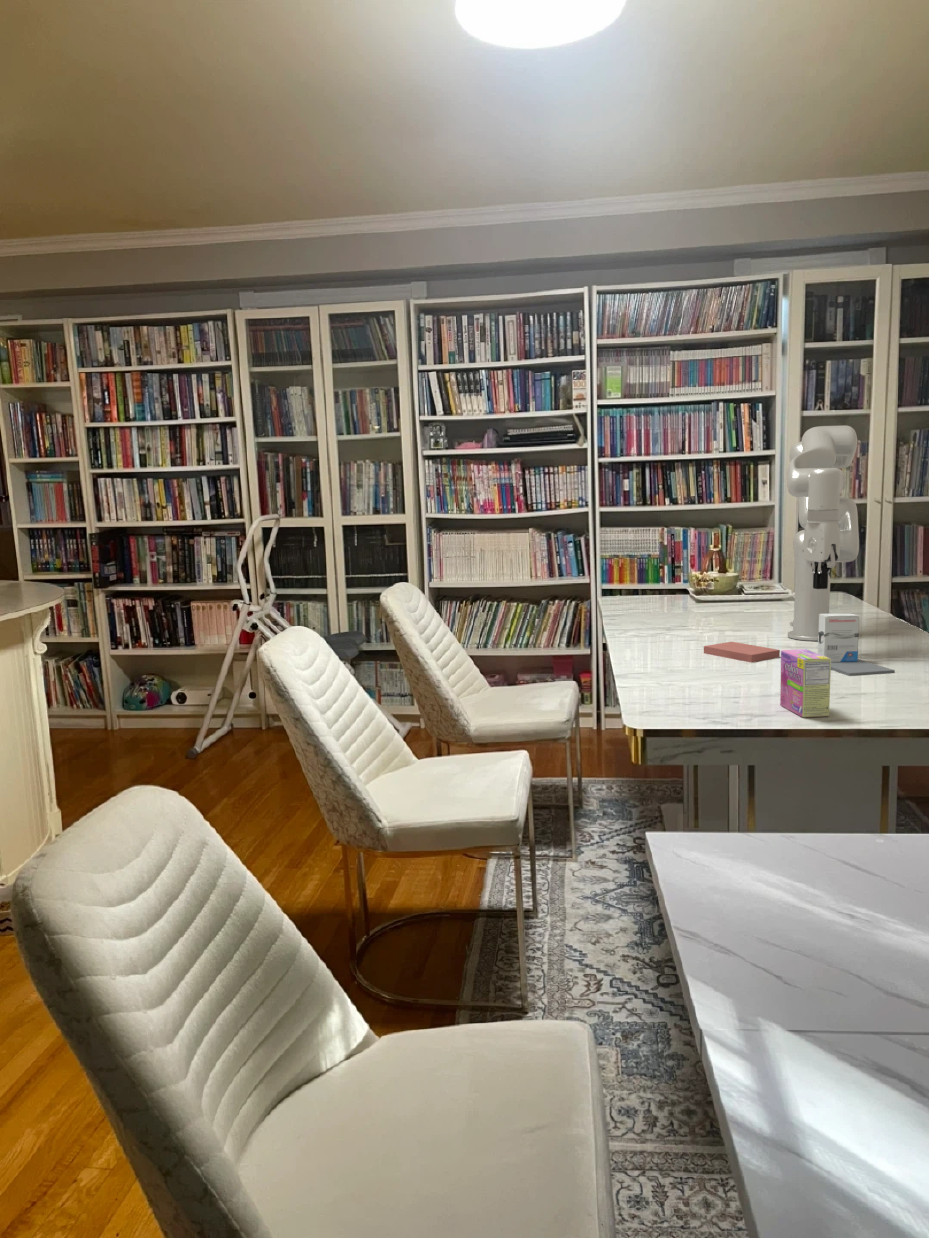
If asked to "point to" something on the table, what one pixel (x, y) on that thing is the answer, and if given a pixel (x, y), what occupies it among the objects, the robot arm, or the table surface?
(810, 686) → the box
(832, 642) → the ink box
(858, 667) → the slate mat
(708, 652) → the hardcover book
